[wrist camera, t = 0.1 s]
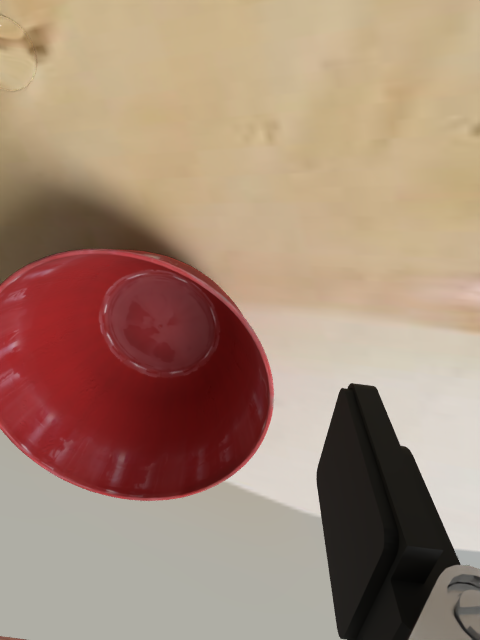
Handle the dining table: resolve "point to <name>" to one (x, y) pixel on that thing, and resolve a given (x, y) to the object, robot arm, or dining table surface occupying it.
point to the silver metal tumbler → (15, 56)
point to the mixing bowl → (130, 374)
